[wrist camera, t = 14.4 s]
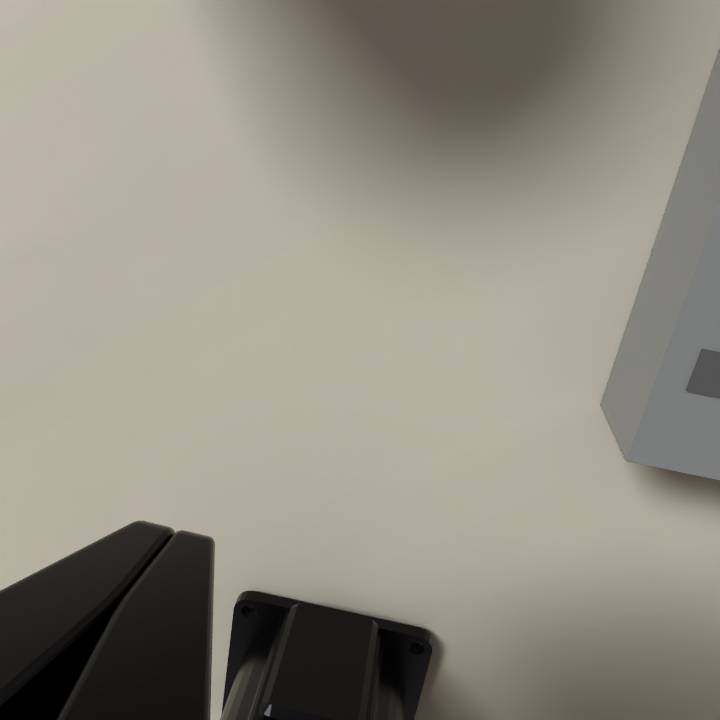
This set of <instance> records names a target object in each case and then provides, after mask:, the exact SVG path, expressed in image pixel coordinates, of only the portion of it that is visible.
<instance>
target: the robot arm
mask: <svg viewBox="0 0 720 720" xmlns="http://www.w3.org/2000/svg"><path fill="white" fill-rule="evenodd" d="M214 556H215V542H214V540H213V539H212V538H211V537H209V536H205V535H201V534H197V533H192V532H188V531H183V530H181V531H178V532H176V533H175V531H174V530H173V529H172V528H170V527H167V526H163V525H159V524H154V523H150V522H146V521H136V522H133V523H131V524H129V525H127V526H125V527H123V528H121V529H119V530H117V531H115V532H113V533H111V534H109V535H108V536H106V537H104V538H102V539H100V540H98V541H96V542H94V543H92V544H90V545H88V546H86V547H84V548H82V549H80V550H78V551H76V552H75V553H73V554H71V555H69V556H67V557H65V558H63V559H61V560H59V561H57V562H55V563H53V564H51V565H49V566H47V567H45V568H43V569H42V570H40V571H38V572H36V573H34V574H32V575H30V576H28V577H26V578H24V579H22V580H20V581H18V582H16V583H14V584H12V585H10V586H9V587H7V588H5V589H3V590H1V591H0V720H210V702H211V665H212V629H213V592H214ZM246 605H250V606H252V607H254V608H255V609H250V608H248V607H247V606H246ZM412 643H420V644H422V645H420V646H419V645H413V644H412ZM431 654H432V637H431V635H430V633H429V632H427V631H426V630H424V629H422V628H419V627H414V626H410V625H405V624H401V623H396V622H391V621H387V620H382V619H378V618H373V617H369V616H364V615H360V614H355V613H351V612H346V611H342V610H337V609H332V608H328V607H323V606H319V605H314V604H310V603H305V602H301V601H296V600H292V599H287V598H283V597H278V596H273V595H269V594H264V593H260V592H255V591H246V592H243V593H242V594H240V595H239V597H238V600H237V602H236V604H235V607H234V613H233V621H232V630H231V639H230V647H229V656H228V665H227V673H226V682H225V691H224V699H223V708H222V715H221V718H220V720H414V717H415V713H416V709H417V706H418V702H419V698H420V694H421V691H422V687H423V683H424V680H425V676H426V672H427V668H428V665H429V661H430V657H431Z"/></svg>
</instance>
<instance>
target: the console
mask: <svg viewBox="0 0 720 720" xmlns="http://www.w3.org/2000/svg"><path fill="white" fill-rule="evenodd" d="M600 406H601V408H602V410H603V412H604V414H605V417H606V419H607V421H608V423H609V426H610V428H611V430H612V432H613V434H614V437H615V439H616V441H617V443H618V445H619V448H620V450H621V452H622V454H623V456H624V459H625V461H628V462H633V463H638V464H642V465H647V466H652V467H657V468H662V469H667V470H672V471H677V472H682V473H687V474H692V475H697V476H701V477H706V478H711V479H716V480H720V49H719V52H718V55H717V58H716V61H715V64H714V67H713V70H712V73H711V76H710V79H709V82H708V85H707V88H706V91H705V94H704V97H703V100H702V103H701V106H700V109H699V112H698V115H697V118H696V121H695V124H694V127H693V130H692V133H691V136H690V139H689V142H688V145H687V148H686V151H685V154H684V157H683V160H682V163H681V166H680V169H679V172H678V175H677V178H676V181H675V184H674V187H673V189H672V192H671V195H670V198H669V201H668V204H667V207H666V210H665V213H664V216H663V219H662V222H661V225H660V228H659V231H658V234H657V237H656V240H655V243H654V246H653V249H652V252H651V255H650V258H649V261H648V264H647V267H646V270H645V273H644V276H643V279H642V282H641V285H640V288H639V291H638V294H637V297H636V300H635V303H634V306H633V309H632V312H631V315H630V318H629V321H628V324H627V327H626V330H625V333H624V336H623V339H622V342H621V345H620V348H619V351H618V354H617V357H616V360H615V363H614V366H613V369H612V372H611V375H610V377H609V380H608V383H607V386H606V389H605V392H604V395H603V398H602V401H601V404H600Z"/></svg>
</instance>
